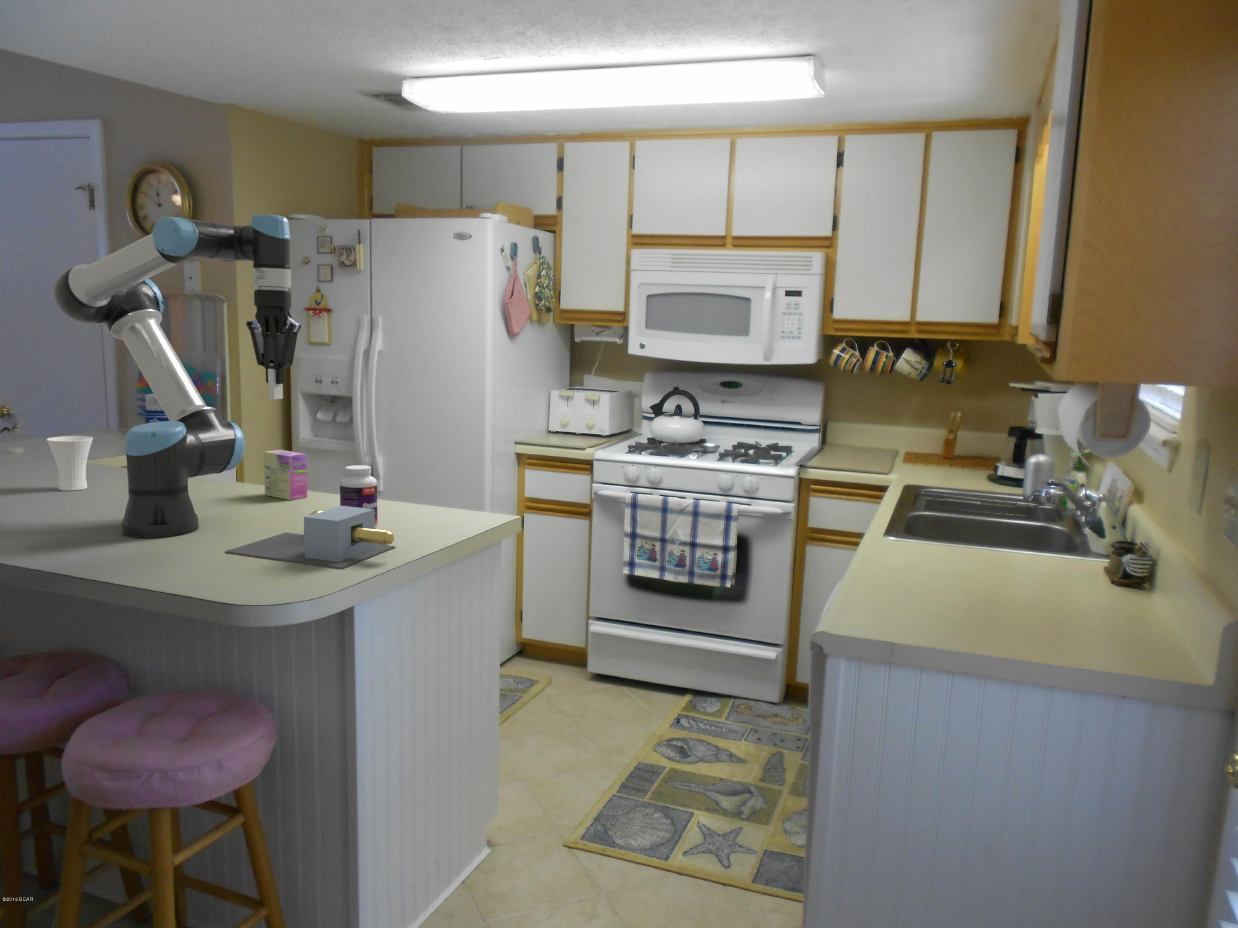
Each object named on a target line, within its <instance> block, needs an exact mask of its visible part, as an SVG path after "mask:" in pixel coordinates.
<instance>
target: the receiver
mask: <svg viewBox="0 0 1238 928" xmlns="http://www.w3.org/2000/svg"><path fill="white" fill-rule="evenodd" d="M321 511H322V512H319V513H315V514H312V515H310V514H308V515H306V516H304V517H303V535H304V545H305V557H306V558H314V559H321V560H328V561H336V562H340V561H342V560H345V559H348V558H350V557H353V556H355V555H358V554H361V553H363V552H366V551H368V550H371V549H373V548H375V544H373V543H365V542H357V541H351V527H358V528H366V529H374V509H367V508H358V507H349V506H340V505H339V506H336V507H333V508H330V509H326V510H321ZM374 530H376V529H374Z"/></svg>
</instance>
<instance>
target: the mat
mask: <svg viewBox="0 0 1238 928" xmlns="http://www.w3.org/2000/svg"><path fill="white" fill-rule="evenodd" d="M393 549H396V546H395V545H381V544H375V548H373V549H371V550H368V551H366V552H363V553H361V554H358V555H355V556H353V557H350V558H348V559H345V560H342V561H340V562H336V561H328V560H321V559H314V558H306V557H305V545H304V534H302V533H296V532H295V533H293V532H283V533H279V534H276V535H273V536H269V537H266V538H263V539H261V540H257V541H253V542H250V543H247V544H244V545H240V546H237V547H235V548H231V549H227V550H225V551H224V553H226V554H230V555H231V554H232V555H240V556H245V557H253V558H260V559H269V560H274V561H282V562H287V563H288V562H290V563H294V564H295V563H297V564H305V565H310V566H316V567H317V566H318V567H326V568H332V569H339V570H343V569H345V568H348V567H350V566H353V565H356V564H358V563H361V562H364V561H366V560H368V559H371V558H373V557H376V556H378V555H380V554H383V553H385V552H388V551H390V550H393Z"/></svg>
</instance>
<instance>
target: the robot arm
mask: <svg viewBox="0 0 1238 928" xmlns="http://www.w3.org/2000/svg"><path fill="white" fill-rule="evenodd" d="M289 225H290V224H289V220H288V219H287V217H285V216H283V215H278V214H266V213H265V214H264V213H260V214H259V213H258V214H254V215H252V216H251V223H250V225H249V224H248V225H242V224H241V225H240V224H238V225H237V224H228V223H222V222H221V223H220V222H214V221H213V222H212V221H204V220H198V219H197V220H196V219H191V218H185V217H182V216H175V217H174V216H164V217H161V218H159V219H158V220H157V221H156V224H155V225H154V226H153V228H152V233H150V234H148V235H146V236H144V237H143V238H140V239H138V240H136V241H134V242H132V243H130V244H128V245H126V246H124V247H122V248H120V249H119V250H116V251H115V252H112V253H110V254H109V255H107V256H104V257H103V258H101V259H99V260H97V261H95V262H92V263H91V264H85V263H83V264H78V265H76V266H73V267H71V268H70V269H68V270H66V271H64V272H63V273H62V274H61V275H60V276H59V277H58V278H57V279H56V281H55V283H54V287H53V297H54V300H55V303H56V305H57V306H58V308H59V309H60V311H61V312H62V313H63V314H65V315H66V316H67V317H69V318H70V319H73V320H75V321H77V322H81V323H84V324H85V323H87V324H88V323H90V324H104V325H106V327H107V329H108V331H109V333H111V334H110V335H112V337H113V338H115V339H118V340H122V341H123V343H124V344H125V346H126V348H127V349H128V351H129V353H130V354H131V357H132V358H133V360H134V362H135V363H136V365H137V367H138V368H139V370H140V372H141V373H142V375H143V377H144V379H145V381H146V382H147V384H148V386H149V387H150V390H151V391H152V393H153V395H154V396H155V398H156V400H157V402H158V404H159V406H161V408H162V410H163V412H164V414H165V416H166V417H167V419H168V420H165V421H163V420H162V421H158V422H155V421H153V422H148V423H143V424H139V425H136V426H134V427H131V428H129V430H128V431H127V433H126V435H125V447H124V452H125V457H126V458H125V459H126V472H127V486H128V487H127V488H128V489H127V490H128V499H127V502H126V506H125V511H124V516H123V518H122V519H121V522H120V525H121V526H120V528H121V534H123V535H124V536H127V537H133V538H162V537H165V538H166V537H172V536H179V535H184V534H189V533H192V532H194V531H197V530H198V529H199V516H198V514H197V513H196V511H195V508H194V504H193V502H192V500H191V497H190V495H189V482H188V481H189V480H188V479H191V478H196V477H201V476H208V475H215V474H216V475H217V474H221V473H223V472H227V471H231V470H233V469H235V468H236V467H237V466H238V465H240V463H241V461H242V460H243V457H244V454H245V453H244V451H245V449H246V444H245V443H246V441H245V437H244V434H243V433H244V432H243V431H242V430H241V428H240V426H239V425H237V423H235V422H232V421H229V420H223V417H222V416H221V415H220V413H219V411H218V410H217V409H216V408H215V407H212V406H208V405H206V403H205V401H204V399H203V397H202V396H201V393H199V390H198V389H197V388H196V385H195V384H194V382H193V380H192V379H191V377H190V374H189V373H188V372H187V370H186V368H185V366H184V365H183V364H182V361H181V360H180V358H179V356H178V354H177V353H176V351H175V350H174V347H173V345H172V344H171V342H170V341H169V338H168V337H167V336H166V334H165V332H164V330H163V329H162V327H161V322H162V320H163V316H162V314H163V311H164V304H163V303H162V302H163V300H164V299H163V295H162V293H161V291H160V289H159V288H158V286H157V285H156V284H155V283H154V282H153V281H152V280H151V279H150V278H152V277H154V276H156V275H158V274H160V273H163V272H164V271H166V270H168V269H170V268H172V267H174V266H176V265H178V264H181V263H184V262H185V261H187V260H189V259H193V258H200V259H212V260H217V261H223V262H230V263H231V262H245V261H246V262H248V261H252V269H253V272H252V273H253V274H252V275H253V286H254V287H255V288H256V289H254V291H253V305H254V307H256V312H255V315H254V318H253V319H252V320H247V321H246V323H245V325H246V327H247V328H248V330H249V333H250V337H251V341H252V346H253V351H254V354H255V359H256V363H257V365H258V366H262V367H263V368H264V369H265V381H266V382H265V383H266V384H268V385H267V386H268V390H267V391H268V400H282V399H284V394H283V393H284V389H283V386H284V385H283V384H285V379H286V377H285V375H286V374H285V369H286V368H288V367H293V364H294V363H293V362H294V357H295V352H296V345H297V339H298V333H299V332H300V329H301V328H302V324H301V322H296V321H295V320H294V319H292V316H293V315H292V314H291V311H290V309H291V308H292V305H293V304H292V292H291V290H290V291H289V289H291V288H292V276H291V275H292V274H291V272H292V271H291V234H290V232H291V231H290V226H289Z"/></svg>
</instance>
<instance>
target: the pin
mask: <svg viewBox="0 0 1238 928" xmlns="http://www.w3.org/2000/svg"><path fill="white" fill-rule="evenodd" d="M322 511H323V510H321V509H320V510H314V511H312V512H311V513H310V514H309V515H312V514H315V513H319V512H322ZM394 540H395V535H394V534H393V533H392V532H391V531H389V530H381V529H375V530H374V529H366V528H358V527H351V541H357V542H365V543H373V544H381V545H389V546H391V544H393V542H394Z"/></svg>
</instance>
